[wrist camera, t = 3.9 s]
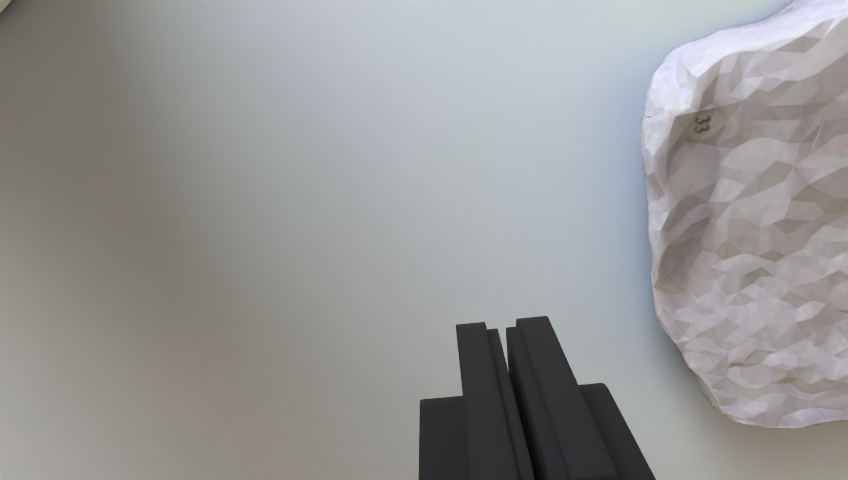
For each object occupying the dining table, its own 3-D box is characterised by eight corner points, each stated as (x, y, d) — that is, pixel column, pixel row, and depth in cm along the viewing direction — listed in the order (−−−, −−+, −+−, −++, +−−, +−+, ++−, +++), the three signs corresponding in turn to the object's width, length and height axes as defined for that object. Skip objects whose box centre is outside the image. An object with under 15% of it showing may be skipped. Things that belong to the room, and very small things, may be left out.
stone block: (672, 371, 21) (999, 296, 18) (708, 469, 17) (1150, 393, 13) (569, 66, 17) (952, -93, 14) (580, 89, 13) (1136, -134, 10)
